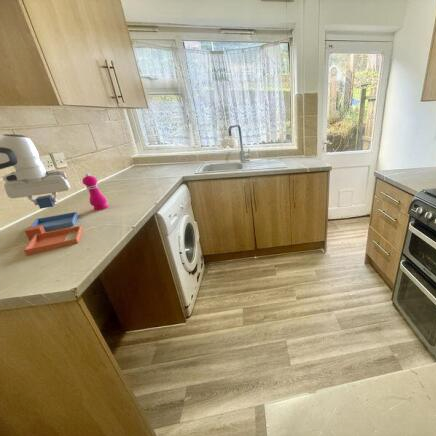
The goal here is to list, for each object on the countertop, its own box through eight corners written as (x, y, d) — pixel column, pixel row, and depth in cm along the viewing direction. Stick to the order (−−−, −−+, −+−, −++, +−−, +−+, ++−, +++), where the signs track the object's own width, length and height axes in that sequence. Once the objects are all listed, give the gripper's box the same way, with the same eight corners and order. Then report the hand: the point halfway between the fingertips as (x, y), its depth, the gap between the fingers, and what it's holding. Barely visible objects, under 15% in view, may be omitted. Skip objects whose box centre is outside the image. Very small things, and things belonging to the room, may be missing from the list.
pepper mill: (112, 207, 135) (98, 171, 127) (98, 212, 129) (82, 175, 121) (104, 205, 138) (90, 171, 130) (90, 210, 132) (74, 174, 124)
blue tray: (29, 235, 106) (27, 230, 105) (38, 223, 118) (36, 218, 116) (74, 226, 113) (72, 221, 112) (78, 216, 125) (76, 211, 124)
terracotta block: (29, 240, 101) (24, 231, 100) (32, 236, 105) (27, 227, 103) (44, 237, 104) (39, 228, 102) (46, 233, 107) (42, 224, 105)
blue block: (40, 208, 109) (35, 199, 107) (42, 205, 112) (38, 196, 110) (53, 206, 111) (49, 197, 109) (55, 203, 114) (51, 194, 113)
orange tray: (26, 256, 90) (23, 250, 89) (37, 240, 102) (34, 234, 101) (78, 244, 97) (76, 238, 96) (83, 230, 109) (81, 225, 108)
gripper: (65, 168, 113) (76, 197, 119) (2, 175, 103) (18, 206, 109) (62, 171, 108) (74, 200, 114) (-4, 178, 98) (13, 210, 104)
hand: (46, 203), depth 111 cm, fingers closed on blue block, 4 cm apart
